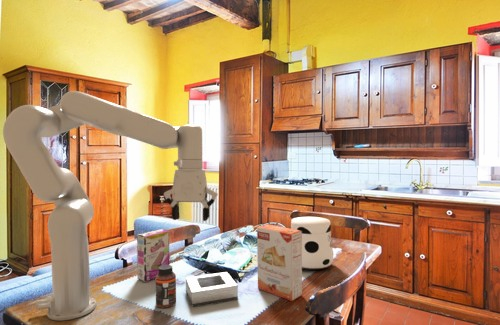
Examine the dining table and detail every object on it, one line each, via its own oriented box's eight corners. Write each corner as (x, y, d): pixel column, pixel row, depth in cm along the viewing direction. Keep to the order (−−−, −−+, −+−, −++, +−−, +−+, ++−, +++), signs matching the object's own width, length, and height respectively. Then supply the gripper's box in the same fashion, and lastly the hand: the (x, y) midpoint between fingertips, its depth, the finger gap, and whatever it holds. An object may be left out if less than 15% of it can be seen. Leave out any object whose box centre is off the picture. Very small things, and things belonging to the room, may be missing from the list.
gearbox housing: (192, 307, 96) (192, 292, 96) (186, 291, 108) (185, 277, 107) (237, 299, 101) (237, 285, 101) (227, 284, 112) (227, 271, 112)
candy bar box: (145, 283, 115) (144, 236, 114) (137, 280, 117) (135, 234, 117) (170, 273, 124) (169, 230, 123) (162, 270, 127) (161, 228, 126)
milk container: (341, 264, 130) (341, 219, 130) (318, 277, 118) (317, 227, 117) (304, 255, 142) (304, 214, 142) (280, 266, 130) (279, 221, 129)
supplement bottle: (171, 309, 95) (170, 271, 95) (152, 308, 96) (151, 269, 96) (179, 300, 101) (178, 264, 101) (161, 298, 102) (160, 263, 102)
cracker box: (256, 289, 108) (256, 226, 107) (268, 283, 113) (267, 223, 112) (291, 302, 99) (291, 233, 98) (302, 295, 103) (302, 229, 102)
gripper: (158, 165, 100) (159, 221, 101) (213, 165, 97) (214, 223, 98) (169, 164, 108) (169, 216, 108) (220, 164, 105) (220, 218, 105)
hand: (190, 219), depth 103 cm, fingers open, 9 cm apart
